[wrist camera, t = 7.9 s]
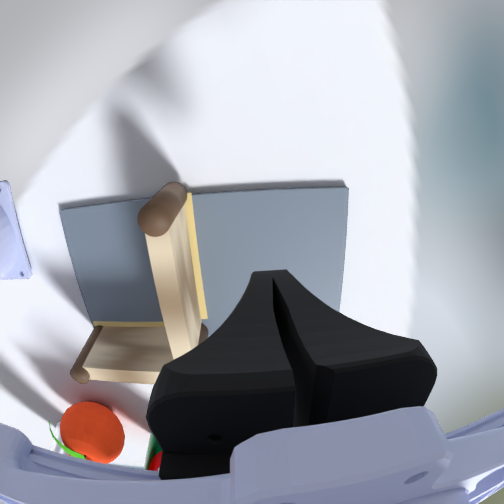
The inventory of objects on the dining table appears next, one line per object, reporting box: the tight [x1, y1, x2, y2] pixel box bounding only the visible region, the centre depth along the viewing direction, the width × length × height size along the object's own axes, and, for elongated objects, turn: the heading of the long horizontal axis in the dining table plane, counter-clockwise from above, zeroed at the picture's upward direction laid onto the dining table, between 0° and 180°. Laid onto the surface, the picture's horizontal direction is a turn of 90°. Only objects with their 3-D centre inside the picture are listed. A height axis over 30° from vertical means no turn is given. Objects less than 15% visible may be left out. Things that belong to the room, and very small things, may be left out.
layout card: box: [59, 187, 349, 337], centre depth 21 cm, size 19×15×1 cm
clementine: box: [49, 401, 125, 464], centre depth 24 cm, size 8×7×7 cm
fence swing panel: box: [137, 182, 202, 359], centre depth 17 cm, size 10×2×5 cm, turn 3°
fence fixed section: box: [70, 323, 209, 384], centre depth 20 cm, size 9×2×5 cm, turn 93°
